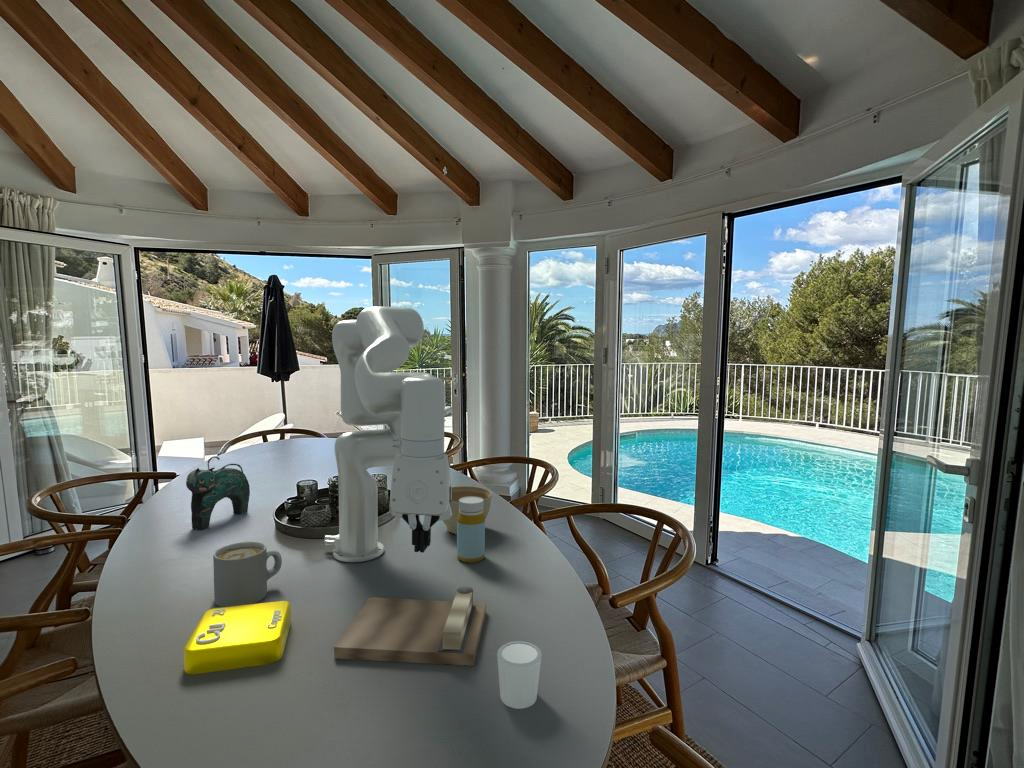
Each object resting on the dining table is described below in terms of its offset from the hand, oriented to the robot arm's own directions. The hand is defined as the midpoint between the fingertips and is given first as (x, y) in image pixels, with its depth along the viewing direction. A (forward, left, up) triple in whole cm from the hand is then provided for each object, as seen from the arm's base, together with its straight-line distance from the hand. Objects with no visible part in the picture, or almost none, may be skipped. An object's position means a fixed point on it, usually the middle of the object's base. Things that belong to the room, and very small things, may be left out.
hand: (421, 549), depth 94 cm
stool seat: (-2, +3, -18) cm, 18 cm away
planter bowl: (-2, +59, -18) cm, 62 cm away
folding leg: (+6, +3, -15) cm, 17 cm away
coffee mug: (-41, +15, -18) cm, 47 cm away
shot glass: (+18, -13, -18) cm, 28 cm away
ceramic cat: (-76, +59, -18) cm, 98 cm away
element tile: (-32, -3, -18) cm, 37 cm away
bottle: (+3, +39, -18) cm, 43 cm away
